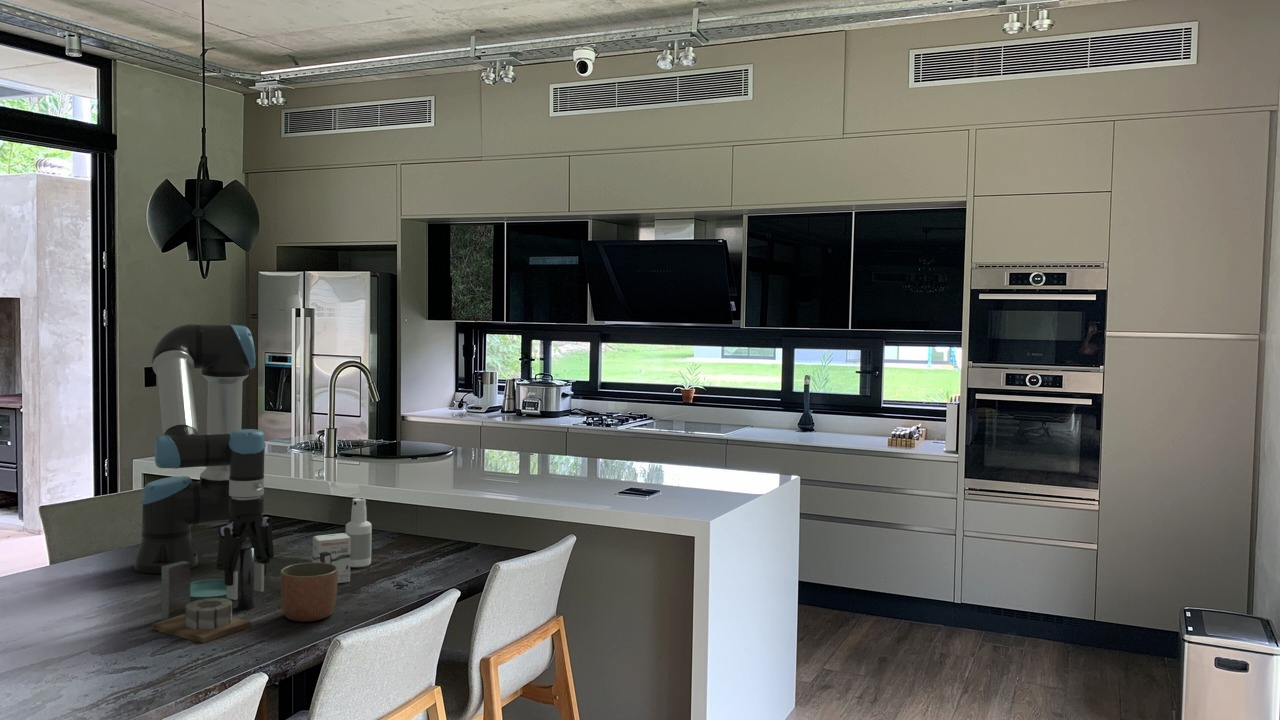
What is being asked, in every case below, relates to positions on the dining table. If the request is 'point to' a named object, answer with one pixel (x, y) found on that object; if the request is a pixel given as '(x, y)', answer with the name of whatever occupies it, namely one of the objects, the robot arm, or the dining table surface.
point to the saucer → (208, 589)
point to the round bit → (245, 578)
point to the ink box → (334, 553)
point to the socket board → (198, 634)
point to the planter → (308, 591)
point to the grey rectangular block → (175, 589)
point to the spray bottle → (359, 535)
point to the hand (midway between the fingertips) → (245, 594)
